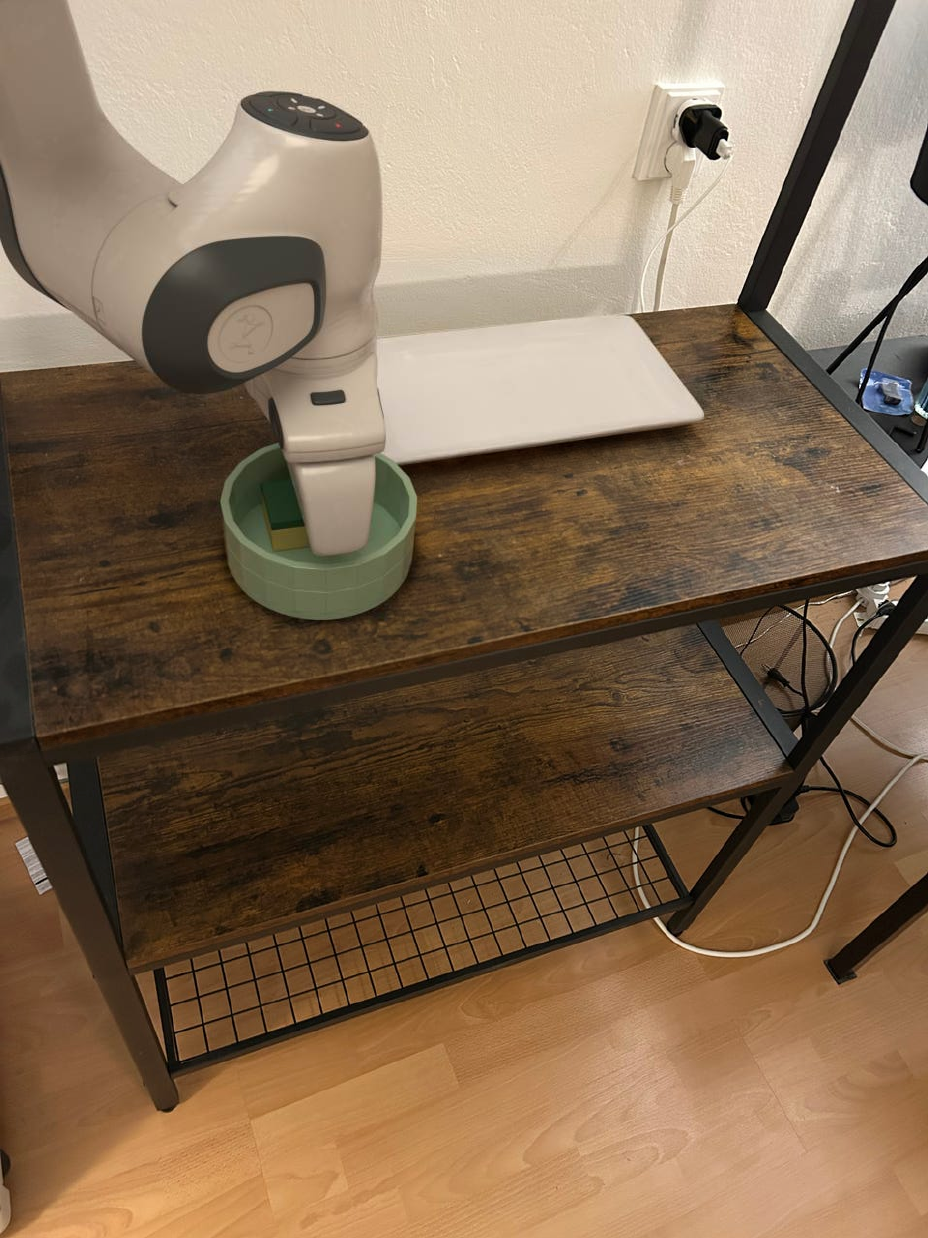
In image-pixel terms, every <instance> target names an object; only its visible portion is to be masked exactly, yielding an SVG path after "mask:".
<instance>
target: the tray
mask: <svg viewBox="0 0 928 1238" xmlns="http://www.w3.org/2000/svg"><path fill="white" fill-rule="evenodd" d="M377 357H378V373H377V388H378V390H379V396H380V401H381V406H382V411H383V415H384V422H385V427H386V443H385V449H384V451H383V452H380V453H381V454H383V455H385V456H386V457H388V458H390V459H392V460H393V461H394V462H395V463H396V464H397V465H398V466H405V465H413V464H420V463H426V462H433V461H440V460H447V459H454V458H462V457H468V456H469V457H470V456H474V455H482V454H483V455H484V454H490V453H497V452H505V451H513V450H519V449H527V448H533V447H534V448H535V447H539V446H540V447H542V446H548V445H554V444H562V443H568V442H575V441H582V440H588V439H595V438H603V437H608V436H614V435H615V436H616V435H622V434H629V433H637V432H645V431H653V430H660V429H669V428H670V429H671V428H675V427H680V426H686V425H689V424H695V423H698V422H699V423H700V422H701V421H702V420H704V418H705V413H704V410H703V408H702V407H701V405H700V404H699V403H698V401H697V400H696V398H695V397H694V396H693V395H692V394H691V392H690V390H689V389H688V388H687V387H686V385H685V384H684V383H683V382H682V380H681V379H680V378H679V377H678V375H677V374H676V372H675V371H674V370H673V369H672V367H671V366H670V364H669V363H668V362H667V360H666V359H665V358H664V357H663V355H662V353H660V351H659V350H658V349H657V347H656V346H655V345H654V343H653V342H652V341H651V339H650V338H649V336H648V335H647V333H646V332H645V331H644V330H643V328H642V327H641V326H640V324H639V323H638V322H637V321H636V319H635V318H634V317H632V316H631V315H627V314H626V315H625V314H624V315H623V314H601V315H593V316H592V315H591V316H582V317H581V316H580V317H571V318H560V319H550V320H542V321H540V320H539V321H530V322H522V323H512V324H501V325H494V326H483V327H474V328H465V329H456V330H455V329H454V330H446V331H445V330H444V331H434V332H426V333H415V334H407V335H397V336H389V337H377Z"/></svg>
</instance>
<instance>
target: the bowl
mask: <svg viewBox="0 0 928 1238" xmlns="http://www.w3.org/2000/svg"><path fill="white" fill-rule="evenodd" d="M374 456H375V467H376V481H375V493H374V503H373V511H372V519H371V526H370V533H369V538H368V541H367V543H366V545H365V546H364V547H363V548H362V549H361V550H359V551H356V552H351V553H346V554H341V555H331V556H317V555H315V554H314V553H313V552H312V549H311V547H310V546H308V547H301V548H294V549H286V550H279V551H273V550H272V546H271V542H270V539H269V535H268V531H267V527H266V523H265V519H264V515H263V508H262V491H261V483H269V482H277V481H286V480H292V479H291V476H290V472H289V469H288V465H287V462H286V459H285V457H284V455H283V451H282V449H281V448H280V446H279V443H278V442H275V443H273V444H270V445H266V446H264V447H261V448H260V449H258V450H256V451H254V452H253V453H252V454H250V455H248V456H247V457H246V458H244V459H243V460H241V461H240V462H238V464H237V465H236V466H235V468H234V469H233V470H232V471H231V472H230V474H229V475H228V477H227V478H226V479H225V480H224V484H223V487H222V493H221V497H220V500H219V502H220V503H219V504H220V511H221V522H222V530H223V540H224V548H225V553H226V558H227V559H226V560H227V565H228V568H229V571H230V574H231V576H232V577H233V579H234V581H235V583H236V584H237V585H238V587H239V588H240V589H241V590H242V591H243V592H244V593H245V594H246V595H247V596H248V597H249V598H250V599H252V600H253V601H255V602H256V603H257V604H259V605H260V606H262V607H264V608H266V609H268V610H271V611H272V612H275V613H276V614H277V613H278V614H281V615H283V616H288V617H291V618H295V619H302V620H312V621H329V620H330V621H331V620H340V619H344V618H345V619H346V618H350V617H354V616H356V615H359V614H360V615H361V614H363V613H366V612H368V611H370V610H373V609H375V608H376V607H378V606H380V605H381V604H383V603H384V602H386V601H387V600H388V599H390V598H391V597H392V596H394V594H395V593H396V592H397V591H398V590H399V589H400V587H401V586H402V585H403V583H404V582H405V581H406V579H407V576H408V574H409V572H410V569H411V565H412V561H413V551H414V543H415V542H414V541H415V532H416V523H417V510H418V508H417V507H418V496H417V493H416V491H415V488H414V486H413V484H412V481H411V478H410V476H408V475H407V473H406V472H404V470H403V469H402V468H401V467H400V465H397V464H396V463H395V462H394V461H393V460H392V459H390V458H388V457H386V456H385V455H383V454H381V453H376V454H374Z"/></svg>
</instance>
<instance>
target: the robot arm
mask: <svg viewBox="0 0 928 1238" xmlns="http://www.w3.org/2000/svg"><path fill="white" fill-rule="evenodd" d="M380 165H381V164H380V160H379V155H378V150H377V146H376V143H375V141H374V137H373V135H372V133H371V131H370V130H369V129H368V128H367V127H366V125H364V124H363V122H362V121H361V120H359V119H358V118H356V117H354V116H353V115H352V114H350V113H348V112H347V111H345V110H344V109H342V108H340V107H338V106H336V105H334V104H332V103H330V102H329V101H325V100H323V99H321V98H319V97H318V98H316V97H313V96H309V95H304V94H302V93H299V92H292V91H281V90H280V91H279V90H265V91H259V92H256V93H253V94H249V95H247V96H245V97H243V98H241V100H240V101H239V102H238V104H237V105H236V109H235V113H234V118H233V121H232V126H231V128H230V130H229V133H228V134H227V136H226V137H225V139H224V141H223V142H222V144H220V146H219V148H218V149H217V150H216V152H215V153H214V154H213V156H212V157H211V158H210V159H209V160H208V161H207V162H206V163H205V165H204V166H203V167H202V168H201V169H200V170H199V171H198V172H197V173H195V174H194V175H193V176H192V177H191V178H190V179H188V180H187V181H185V182H184V183H182V182H180V181H179V180H178V179H176V178H175V177H173V176H171V175H170V174H168V173H167V172H165V171H164V170H163V169H161V168H159V166H157V165H155V164H154V163H153V162H151V161H150V160H149V159H148V158H146V157H145V156H144V155H143V154H142V153H141V152H140V151H138V150H137V149H136V148H135V147H134V146H133V145H131V143H130V142H128V140H126V139H125V138H124V137H123V136H122V134H121V133H120V132H119V131H118V130H117V129H116V128H115V126H114V125H113V124H112V122H110V120H109V119H108V117H107V116H106V113H104V111H103V108H102V107H101V105H100V102H99V98H98V96H97V93H96V89H95V86H94V83H93V80H92V77H91V73H90V70H89V67H88V64H87V61H86V57H85V53H84V51H83V47H82V44H81V41H80V37H79V35H78V31H77V28H76V24H75V21H74V19H73V15H72V12H71V7H70V5H69V1H68V0H0V243H1V247H2V249H3V251H4V254H5V256H6V258H7V260H8V261H9V263H10V265H11V266H12V268H13V269H14V270H15V272H16V273H17V274H18V275H19V277H20V278H21V279H22V280H23V281H25V283H27V284H28V285H29V286H30V287H32V288H33V289H34V290H36V291H37V292H39V293H40V294H43V295H44V296H45V297H47V298H49V299H50V300H52V301H53V302H55V303H56V304H58V305H60V306H61V307H63V308H65V309H66V310H67V311H70V312H71V313H73V314H74V315H75V316H77V317H78V318H79V319H81V320H82V321H83V322H84V323H86V324H87V325H88V326H89V327H90V328H92V329H93V330H94V331H96V332H97V333H98V334H99V335H101V336H102V337H103V338H104V339H106V341H108V342H110V343H111V344H112V345H113V346H114V347H116V348H118V350H120V351H121V352H123V353H124V354H125V355H127V356H128V357H129V358H131V359H132V360H133V361H134V362H136V364H138V365H140V366H141V367H142V368H143V369H145V370H146V371H147V372H149V373H150V374H152V375H153V376H154V377H156V378H157V379H159V380H160V381H161V382H162V383H164V384H165V385H167V386H169V388H172V389H174V390H176V391H179V392H182V393H186V394H193V395H209V394H215V393H220V392H224V391H227V390H230V389H233V388H236V387H238V386H240V385H242V384H243V385H244V388H245V390H246V391H247V393H248V394H249V396H250V397H251V398H252V399H253V400H254V401H255V402H256V403H257V405H258V407H259V409H260V410H261V412H262V413H263V415H264V416H265V418H266V419H267V420H268V422H269V424H270V427H271V429H272V431H273V433H274V435H275V437H276V440H277V443H279V446H280V448H281V449H282V451H283V455H284V457H285V459H286V462H287V465H288V469H289V472H290V476H291V479H292V483H293V486H294V490H295V493H296V496H297V500H298V503H299V507H300V510H301V514H302V517H303V521H304V524H305V528H306V531H307V535H308V538H309V543H310V547H311V549H312V552H313V553H314V554H315V555H317V556H331V555H341V554H346V553H351V552H356V551H359V550H361V549H362V548H363V547H364V546H365V545H366V543H367V541H368V538H369V533H370V526H371V519H372V511H373V503H374V493H375V481H376V467H375V456H374V454H376V453H380V452H383V451H384V449H385V443H386V427H385V422H384V415H383V411H382V406H381V401H380V396H379V390H378V388H377V373H378V357H377V338H378V331H379V330H378V329H379V314H378V309H377V305H376V301H375V298H374V286H375V284H376V280H377V277H378V274H379V271H380V268H381V263H382V262H381V261H382V248H383V247H382V246H383V223H384V221H383V220H384V219H383V216H384V215H383V214H384V211H383V210H384V209H383V186H382V176H381V174H382V173H381V167H380Z"/></svg>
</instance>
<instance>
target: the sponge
mask: <svg viewBox="0 0 928 1238" xmlns="http://www.w3.org/2000/svg"><path fill="white" fill-rule="evenodd" d="M261 491H262V508H263V515H264V519H265V523H266V527H267V531H268V535H269V539H270V542H271V546H272V550H273V551H279V550H286V549H294V548H301V547H308V546H310V543H309V538H308V535H307V531H306V528H305V524H304V521H303V517H302V514H301V510H300V507H299V503H298V500H297V496H296V493H295V490H294V486H293V483H292V480H286V481H277V482H269V483H261Z"/></svg>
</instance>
